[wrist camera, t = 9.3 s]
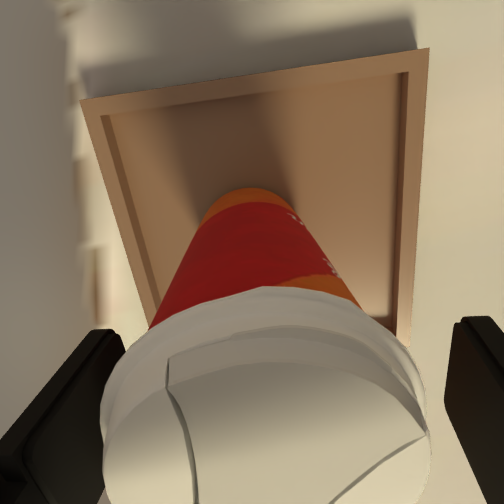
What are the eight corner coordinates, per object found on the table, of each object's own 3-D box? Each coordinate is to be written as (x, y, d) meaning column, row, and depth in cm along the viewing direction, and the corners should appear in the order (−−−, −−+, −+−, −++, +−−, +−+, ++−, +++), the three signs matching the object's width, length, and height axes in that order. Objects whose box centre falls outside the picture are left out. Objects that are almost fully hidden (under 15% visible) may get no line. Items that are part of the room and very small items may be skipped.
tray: (418, 50, 16) (429, 47, 15) (402, 332, 23) (409, 346, 22) (93, 99, 18) (79, 100, 17) (164, 345, 25) (158, 359, 24)
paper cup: (293, 305, 22) (366, 598, 9) (170, 277, 21) (63, 566, 8) (339, 186, 19) (541, 379, 6) (198, 146, 18) (97, 281, 5)
